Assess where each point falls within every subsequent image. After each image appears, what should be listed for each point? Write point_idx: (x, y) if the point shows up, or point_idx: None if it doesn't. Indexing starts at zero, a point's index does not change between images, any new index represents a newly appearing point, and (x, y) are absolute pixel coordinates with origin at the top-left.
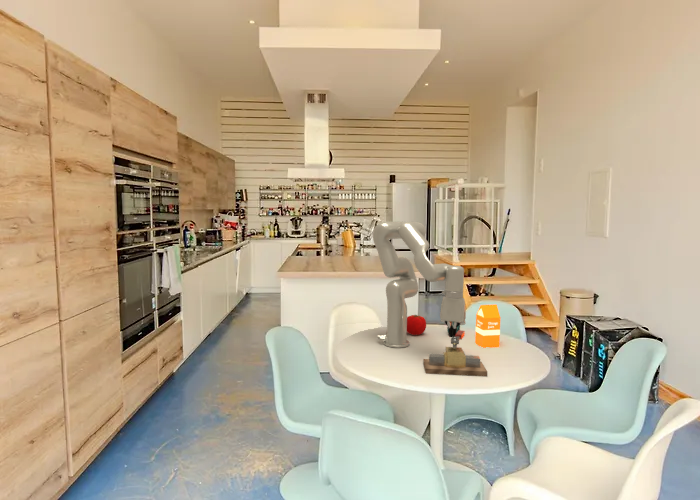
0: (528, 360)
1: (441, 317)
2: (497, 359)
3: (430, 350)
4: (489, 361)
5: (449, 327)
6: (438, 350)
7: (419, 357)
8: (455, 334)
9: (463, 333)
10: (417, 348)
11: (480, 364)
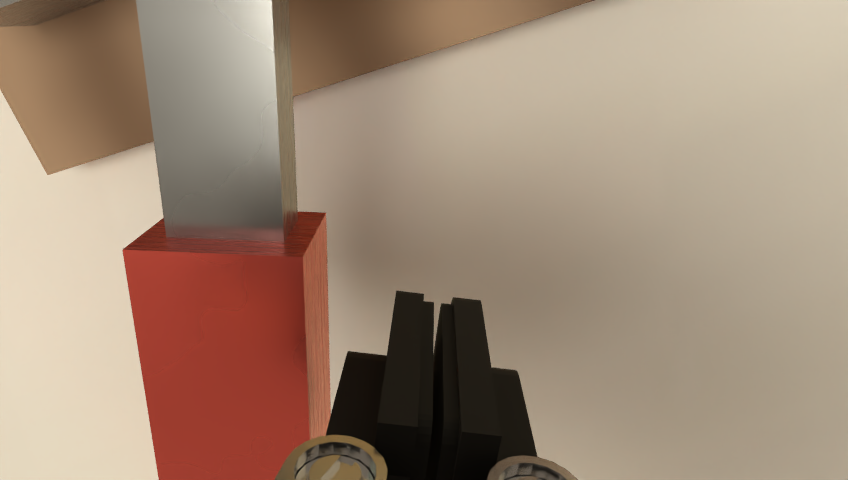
0: None
1: None
2: (7, 430)
3: (695, 438)
4: (53, 344)
5: (517, 474)
6: (611, 467)
7: (817, 162)
8: (304, 253)
9: (168, 459)
10: (840, 447)
11: (10, 41)
